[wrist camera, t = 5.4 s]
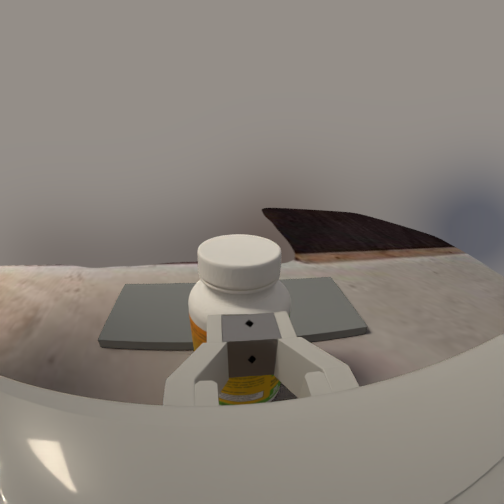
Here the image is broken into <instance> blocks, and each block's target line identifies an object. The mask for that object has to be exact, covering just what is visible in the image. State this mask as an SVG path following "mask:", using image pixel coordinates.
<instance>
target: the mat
mask: <svg viewBox="0 0 504 504" xmlns="http://www.w3.org/2000/svg"><path fill="white" fill-rule="evenodd" d="M280 281H281V282H282V283H283V284H284V285H285V287H286V288H287V290H288V292H289V294H290V298H291V311H290V321H291V323H292V325H293V328H294V330H295V333H296V335H297V337H302V338H304V339H305V340H307V341H309V342H314V341H322V340H329V339H336V338H343V337H349V336H355V335H361V334H365V333H366V330H367V325H366V324H365V322H364V321H363V320H362V318H361V317H360V316H359V314H358V313H357V311H356V310H355V309H354V307H353V306H352V305H351V303H350V302H349V301H348V299H347V298H346V297H345V295H344V294H343V293H342V291H341V290H340V289H339V287H338V286H337V285H336V283H335V282H334V281H333V280H332V278H331V277H321V278H304V279H286V280H280ZM195 284H196V283H173V284H125V285H124V287H123V289H122V291H121V293H120V295H119V297H118V299H117V301H116V303H115V305H114V307H113V309H112V311H111V313H110V315H109V317H108V319H107V321H106V323H105V325H104V327H103V330H102V332H101V334H100V336H99V338H98V341H99V344H100V346H101V347H109V348H125V349H149V350H194V347H193V340H192V333H191V325H190V318H189V306H188V300H189V295H190V292H191V290H192V288H193V287H194V286H195Z"/></svg>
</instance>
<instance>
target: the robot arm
mask: <svg viewBox="0 0 504 504" xmlns="http://www.w3.org/2000/svg"><path fill="white" fill-rule="evenodd" d="M221 323H222V324H221ZM260 375H274V376H275V377H276V378H277V379H278V380H279V381H280V382H281V383H282V384H283V385H284V386H286V387H287V388H288V389H289V390H290V391H291V392H292V393H293V394H294V395H295V396H296V397H297V398H298V399H291V400H283V401H274V402H265V403H254V404H241V405H222V406H219V396H218V395H219V394H220V392H221V390H222V389H223V387H224V386H225V384H226V383H227V381H228V380H229V378H234V377H246V376H260ZM0 504H504V334H501V335H499V336H497V337H495V338H493V339H491V340H489V341H487V342H485V343H483V344H481V345H479V346H477V347H474V348H472V349H470V350H468V351H465V352H463V353H461V354H459V355H456V356H454V357H451V358H449V359H446V360H444V361H441V362H438V363H436V364H433V365H430V366H428V367H425V368H422V369H419V370H416V371H413V372H410V373H407V374H404V375H401V376H397V377H394V378H391V379H387V380H384V381H380V382H376V383H373V384H369V385H365V386H361V387H359V385H358V383H357V381H356V379H355V377H354V375H353V373H352V371H351V370H350V368H349V366H348V365H347V364H345V363H344V362H342V361H340V360H338V359H337V358H335V357H333V356H332V355H330V354H328V353H327V352H325V351H323V350H322V349H320V348H318V347H317V346H315V345H313V344H312V343H310V342H309V341H307V340H305V339H304V338H302V337H297V335H296V333H295V330H294V328H293V325H292V323H291V321H290V318H289V316H288V313H287V312H286V311H280V312H273V313H259V314H222V315H208V316H207V343H202V344H201V345H200V346H199V347H198V348H197V349H196V350H195V351H194V352H193V353H192V354H191V355H190V356H189V357H188V358H187V359H186V360H185V361H184V362H183V363H182V364H181V365H180V366H179V367H178V368H177V369H176V370H175V371H174V372H173V373H172V374H171V375H170V376H169V377H168V378H167V379H166V383H165V390H164V398H163V405H149V404H136V403H126V402H117V401H109V400H101V399H95V398H88V397H83V396H77V395H72V394H67V393H62V392H57V391H53V390H49V389H45V388H41V387H37V386H33V385H29V384H26V383H22V382H19V381H16V380H13V379H9V378H6V377H3V376H1V375H0Z"/></svg>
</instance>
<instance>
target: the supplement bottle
mask: <svg viewBox="0 0 504 504" xmlns="http://www.w3.org/2000/svg"><path fill="white" fill-rule="evenodd" d="M280 267H281V249H280V247H279V246H278V245H277V244H276V243H275V242H273V241H271V240H269V239H266V238H263V237H259V236H253V235H242V234H235V235H224V236H218V237H215V238H212V239H209V240H207V241H205V242H203V243H202V244H201V245H200V246H199V248H198V273H199V276H200V279H201V280H199V281H198V282H197V283H196V284H195V286H194V287H193V288H192V290H191V292H190V295H189V300H188V306H189V318H190V325H191V333H192V340H193V347H194V351H195V350H196V349H197V348H198V347H199V346H200V345H201V344H202V343H207V316H208V315H222V314H259V313H273V312H280V311H286V312H287V313H288V316H289V318H290V311H291V298H290V294H289V292H288V290H287V288H286V287H285V285H284V284H283V283H282V282H281V281H280V280H279V277H280ZM221 324H222V323H221ZM280 384H281V382H280V381H279V380H278V379H277V378H276V377H275V376H274V375H260V376H246V377H234V378H229V380H228V381H227V383H226V384H225V386H224V387H223V389H222V390H221V392H220V394H219V395H218V396H219V406H222V405H241V404H254V403H265V402H271V401H272V400H273V399H274V398H275V396H276V395H277V393H278V391H279V388H280Z"/></svg>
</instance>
